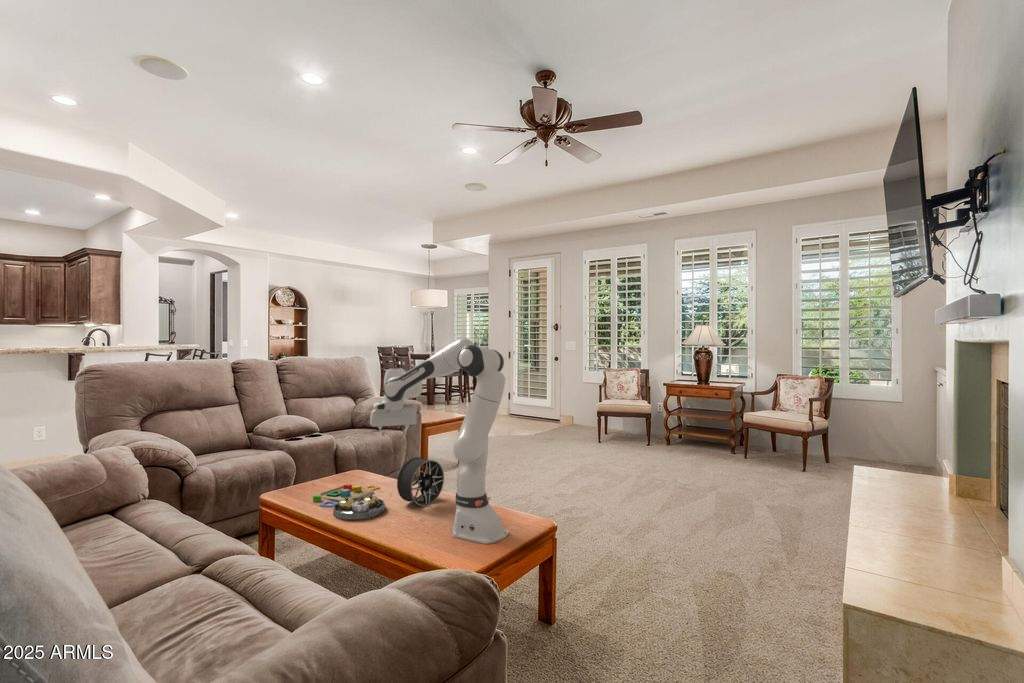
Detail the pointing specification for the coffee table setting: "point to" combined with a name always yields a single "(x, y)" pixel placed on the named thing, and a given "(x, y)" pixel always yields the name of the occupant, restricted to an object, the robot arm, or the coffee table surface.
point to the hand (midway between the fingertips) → (393, 435)
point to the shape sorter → (344, 494)
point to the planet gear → (360, 507)
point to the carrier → (345, 505)
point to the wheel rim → (420, 481)
